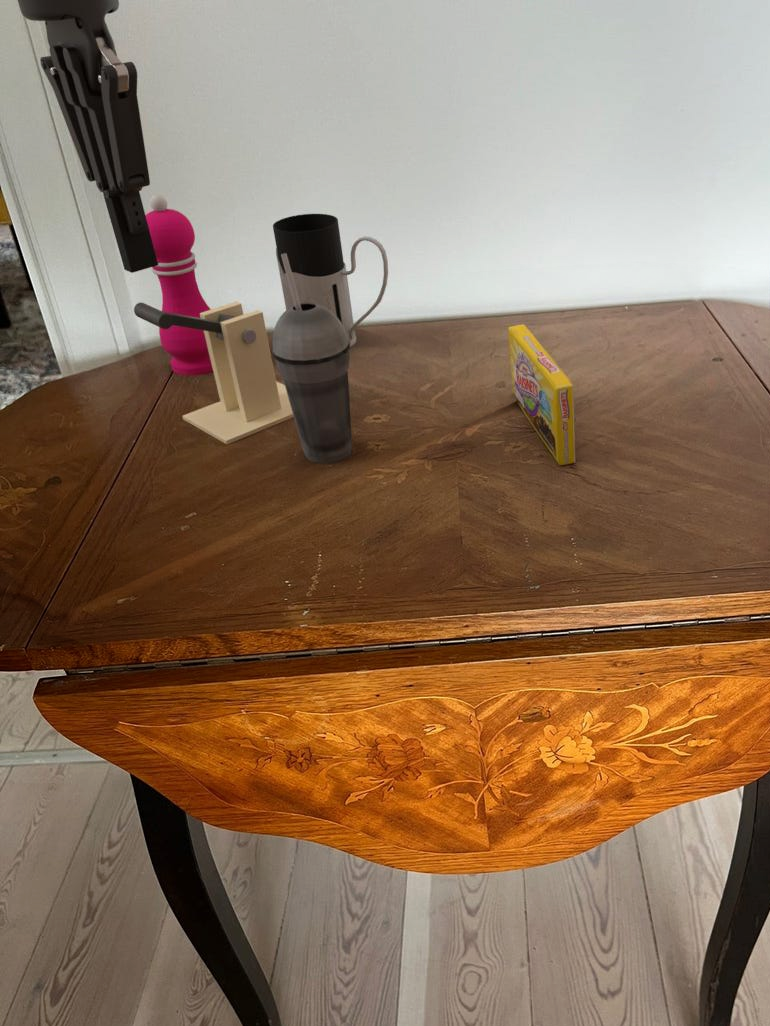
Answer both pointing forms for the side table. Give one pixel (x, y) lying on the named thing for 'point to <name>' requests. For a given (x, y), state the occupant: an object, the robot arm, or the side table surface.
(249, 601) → the side table surface
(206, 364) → the pepper mill
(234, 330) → the lever mount
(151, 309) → the wooden stand lever
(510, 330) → the candy box
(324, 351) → the beverage cup
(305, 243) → the glass holder
